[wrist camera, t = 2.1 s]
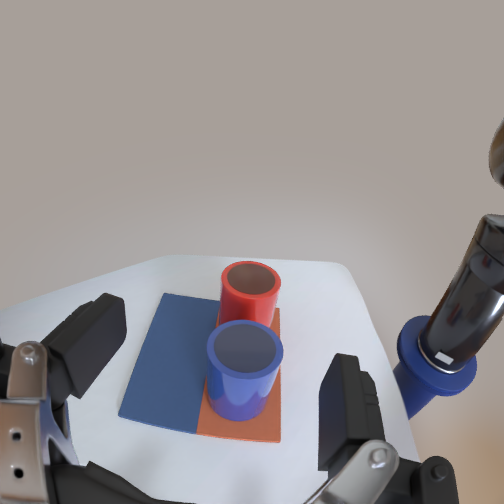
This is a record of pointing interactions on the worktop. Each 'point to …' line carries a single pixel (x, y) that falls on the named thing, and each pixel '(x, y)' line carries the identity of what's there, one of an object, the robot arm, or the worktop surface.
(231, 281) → the red beaker
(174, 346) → the sorting mat
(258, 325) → the blue beaker
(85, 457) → the worktop surface
